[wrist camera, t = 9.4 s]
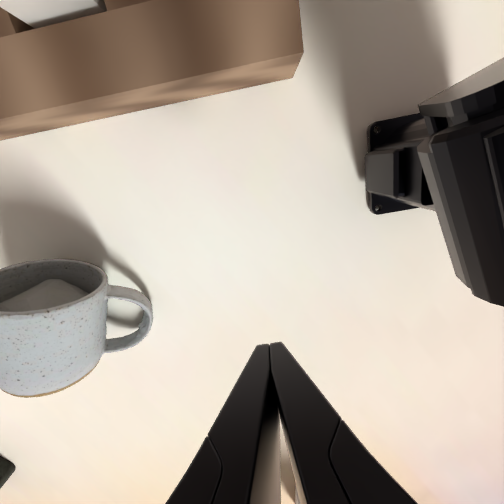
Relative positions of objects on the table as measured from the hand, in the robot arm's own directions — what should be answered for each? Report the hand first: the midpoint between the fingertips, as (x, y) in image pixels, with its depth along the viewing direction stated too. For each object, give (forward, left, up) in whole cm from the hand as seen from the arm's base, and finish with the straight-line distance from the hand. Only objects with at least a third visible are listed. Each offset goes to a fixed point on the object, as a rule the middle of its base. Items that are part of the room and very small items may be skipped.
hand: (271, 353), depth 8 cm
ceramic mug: (+16, +3, -13) cm, 21 cm away
